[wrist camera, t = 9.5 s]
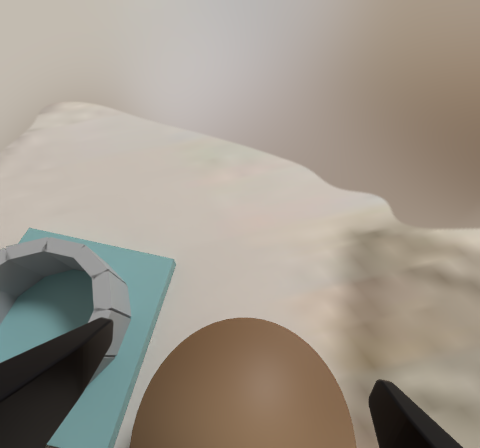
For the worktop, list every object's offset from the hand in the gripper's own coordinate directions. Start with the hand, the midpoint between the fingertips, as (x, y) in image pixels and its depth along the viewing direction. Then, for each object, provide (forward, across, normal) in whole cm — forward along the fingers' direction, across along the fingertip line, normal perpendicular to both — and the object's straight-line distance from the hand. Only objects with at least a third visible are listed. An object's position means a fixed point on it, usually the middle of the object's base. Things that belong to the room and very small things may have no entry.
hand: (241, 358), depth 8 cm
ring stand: (+5, +10, +5) cm, 12 cm away
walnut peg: (+4, 0, +6) cm, 7 cm away
